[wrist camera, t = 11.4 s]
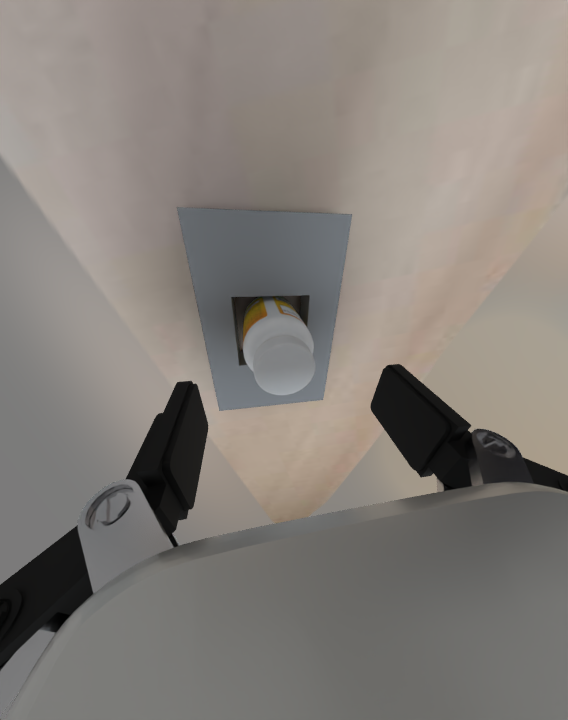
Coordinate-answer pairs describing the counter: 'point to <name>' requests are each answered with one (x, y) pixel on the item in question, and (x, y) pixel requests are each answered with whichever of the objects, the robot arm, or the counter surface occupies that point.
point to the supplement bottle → (277, 346)
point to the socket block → (263, 286)
